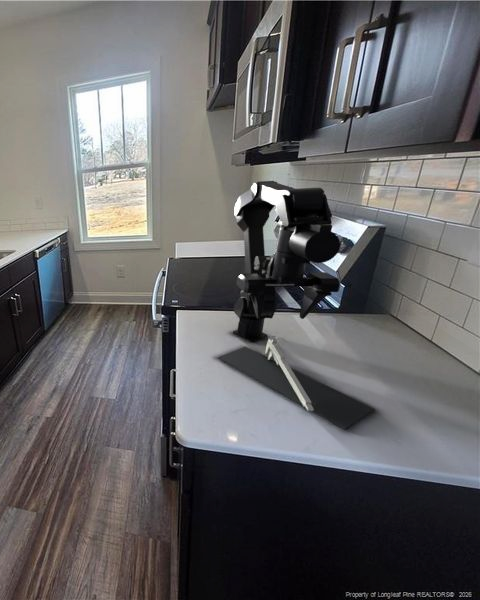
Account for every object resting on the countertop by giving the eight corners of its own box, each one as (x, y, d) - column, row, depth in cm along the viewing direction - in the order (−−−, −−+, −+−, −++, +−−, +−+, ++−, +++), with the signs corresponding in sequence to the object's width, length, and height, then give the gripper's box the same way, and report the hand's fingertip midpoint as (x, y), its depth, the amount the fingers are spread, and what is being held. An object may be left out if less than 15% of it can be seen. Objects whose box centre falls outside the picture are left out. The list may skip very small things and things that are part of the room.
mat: (244, 347, 84) (245, 346, 84) (374, 410, 60) (375, 408, 60) (217, 358, 80) (217, 357, 80) (344, 430, 56) (345, 428, 56)
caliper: (264, 355, 79) (268, 333, 77) (269, 355, 79) (273, 333, 77) (307, 412, 60) (314, 384, 58) (313, 412, 60) (321, 385, 58)
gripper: (318, 241, 73) (305, 304, 78) (233, 244, 75) (226, 305, 81) (350, 252, 63) (332, 324, 68) (250, 255, 65) (240, 323, 71)
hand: (279, 318), depth 72 cm, fingers open, 9 cm apart
